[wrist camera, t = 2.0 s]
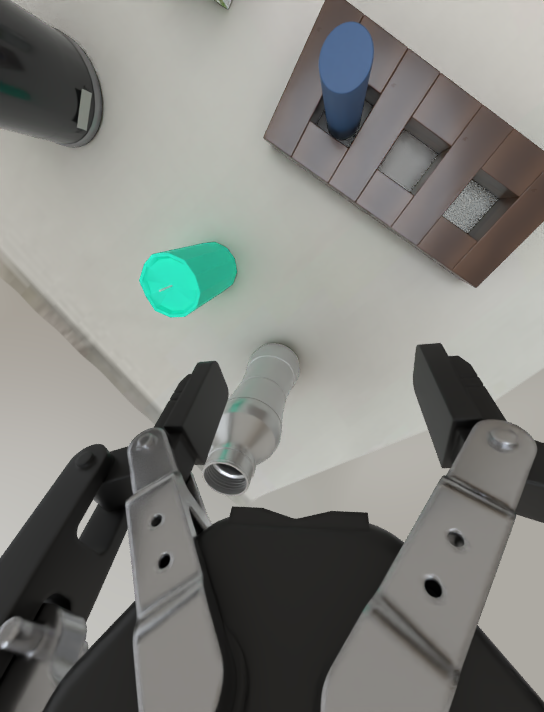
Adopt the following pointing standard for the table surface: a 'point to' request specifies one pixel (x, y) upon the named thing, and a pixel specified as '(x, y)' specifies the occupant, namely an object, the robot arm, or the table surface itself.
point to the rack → (432, 127)
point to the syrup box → (224, 3)
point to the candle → (187, 277)
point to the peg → (345, 76)
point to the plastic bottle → (251, 420)
